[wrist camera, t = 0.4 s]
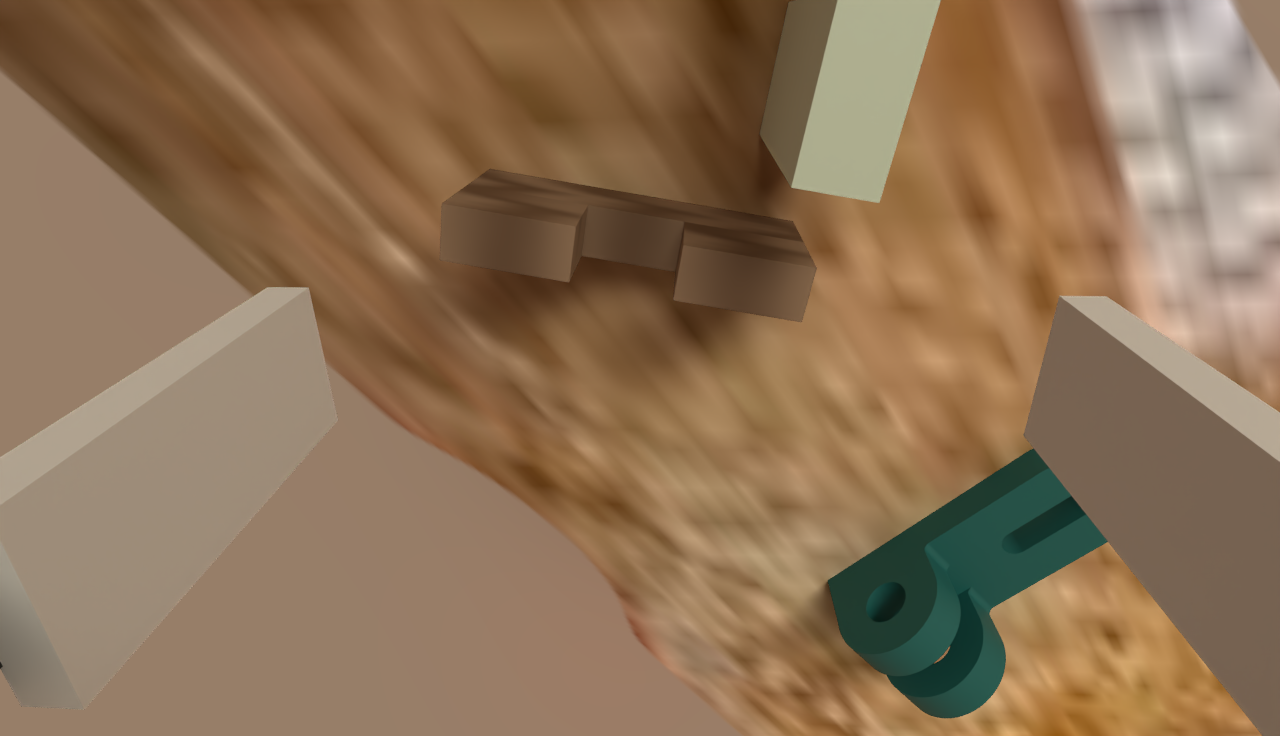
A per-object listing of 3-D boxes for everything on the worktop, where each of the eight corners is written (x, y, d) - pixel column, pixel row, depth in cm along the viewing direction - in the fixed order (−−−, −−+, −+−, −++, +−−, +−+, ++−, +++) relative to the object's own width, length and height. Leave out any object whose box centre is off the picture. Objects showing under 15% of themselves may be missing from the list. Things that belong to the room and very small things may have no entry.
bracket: (889, 635, 50) (922, 737, 43) (827, 578, 48) (850, 674, 41) (1136, 489, 44) (1223, 580, 36) (1076, 418, 42) (1154, 498, 35)
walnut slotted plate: (486, 216, 39) (439, 260, 31) (489, 169, 38) (441, 203, 30) (781, 266, 39) (801, 322, 32) (792, 221, 38) (816, 267, 30)
